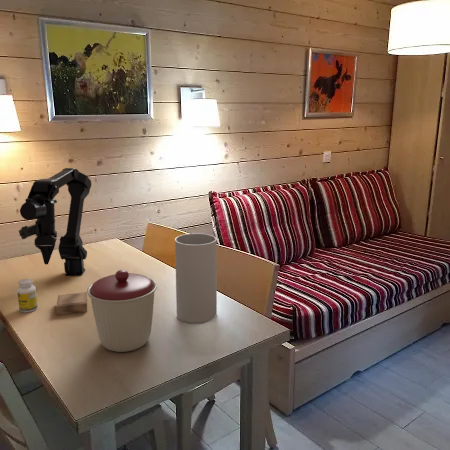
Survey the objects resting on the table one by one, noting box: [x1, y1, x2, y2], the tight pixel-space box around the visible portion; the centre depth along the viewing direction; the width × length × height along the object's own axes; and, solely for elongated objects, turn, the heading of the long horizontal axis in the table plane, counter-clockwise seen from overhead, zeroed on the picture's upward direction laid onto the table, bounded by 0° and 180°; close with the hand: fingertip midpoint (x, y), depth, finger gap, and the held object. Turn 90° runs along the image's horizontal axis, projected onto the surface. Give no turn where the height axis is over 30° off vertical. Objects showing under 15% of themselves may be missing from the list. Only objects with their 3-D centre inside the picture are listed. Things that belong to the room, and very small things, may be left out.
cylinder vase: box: [174, 232, 218, 324], centre depth 131 cm, size 12×12×25 cm
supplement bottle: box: [16, 278, 39, 313], centre depth 136 cm, size 5×5×10 cm
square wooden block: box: [55, 291, 88, 316], centre depth 138 cm, size 9×9×3 cm
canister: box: [86, 269, 158, 353], centre depth 115 cm, size 18×18×21 cm
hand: (47, 261), depth 148 cm, fingers open, 9 cm apart
